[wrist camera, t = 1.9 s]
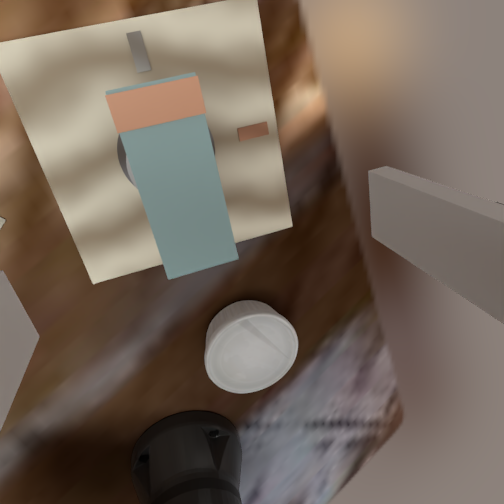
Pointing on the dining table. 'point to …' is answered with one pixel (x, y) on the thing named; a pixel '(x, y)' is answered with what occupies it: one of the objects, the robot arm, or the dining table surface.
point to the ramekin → (249, 347)
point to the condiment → (1, 222)
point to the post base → (109, 141)
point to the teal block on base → (175, 171)
